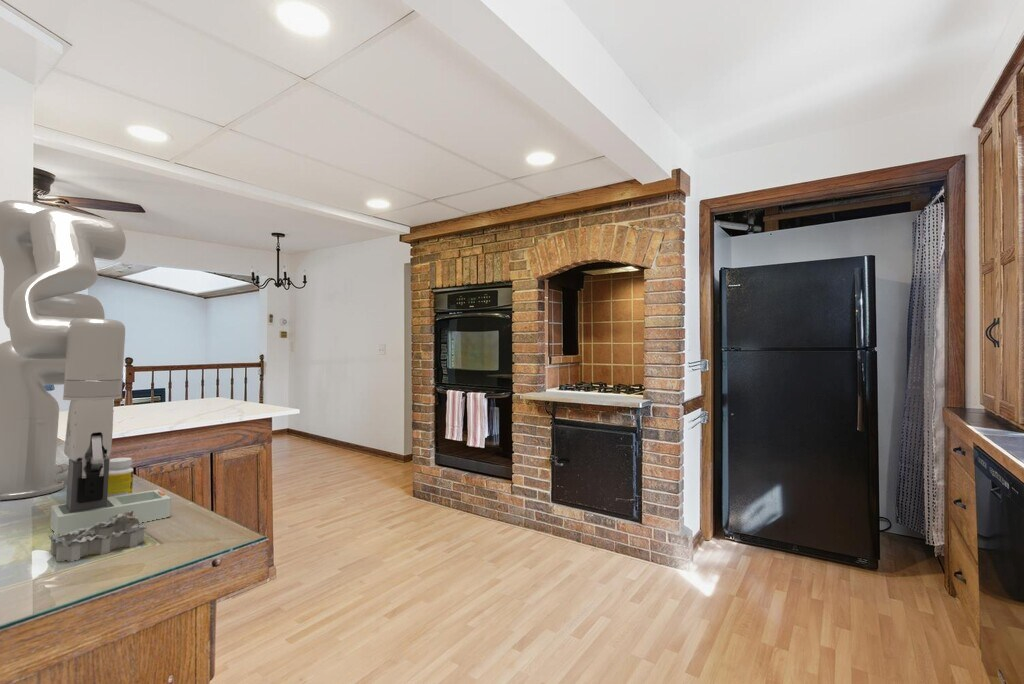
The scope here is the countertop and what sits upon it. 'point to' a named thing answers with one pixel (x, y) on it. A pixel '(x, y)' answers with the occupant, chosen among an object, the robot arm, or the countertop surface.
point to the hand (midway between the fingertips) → (86, 496)
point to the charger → (72, 487)
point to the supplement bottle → (120, 477)
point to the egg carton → (98, 538)
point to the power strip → (112, 511)
